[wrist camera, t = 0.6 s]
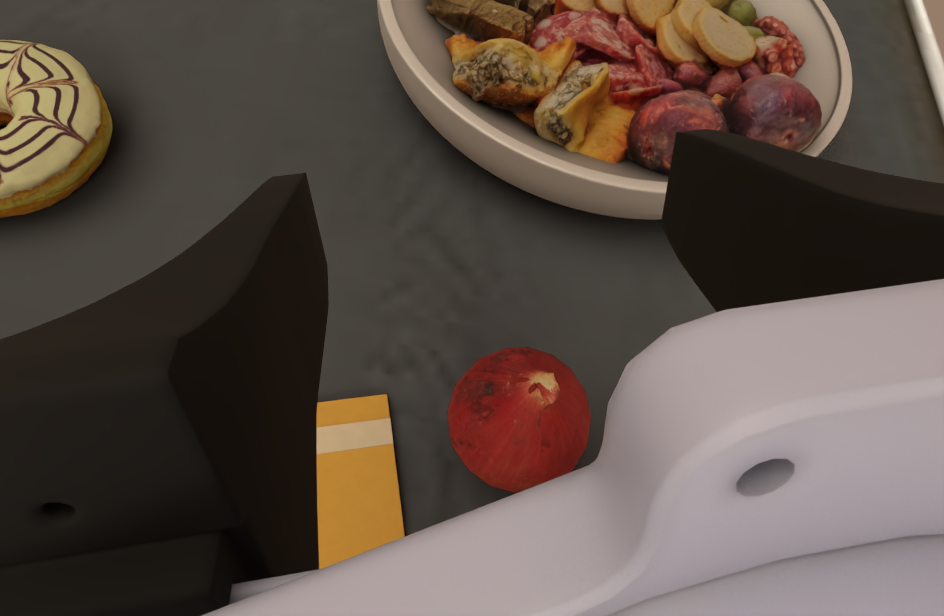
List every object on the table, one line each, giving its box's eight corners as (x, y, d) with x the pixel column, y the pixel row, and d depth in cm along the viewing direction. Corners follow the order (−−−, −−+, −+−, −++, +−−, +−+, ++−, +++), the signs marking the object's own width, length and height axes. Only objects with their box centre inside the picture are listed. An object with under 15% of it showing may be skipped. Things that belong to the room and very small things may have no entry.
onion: (424, 486, 27) (442, 432, 20) (458, 371, 30) (483, 289, 23) (550, 523, 27) (612, 482, 20) (572, 405, 30) (632, 333, 23)
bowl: (288, 7, 41) (271, -121, 34) (598, -97, 53) (632, -207, 46) (591, 340, 32) (650, 257, 25) (883, 124, 44) (978, 27, 37)
